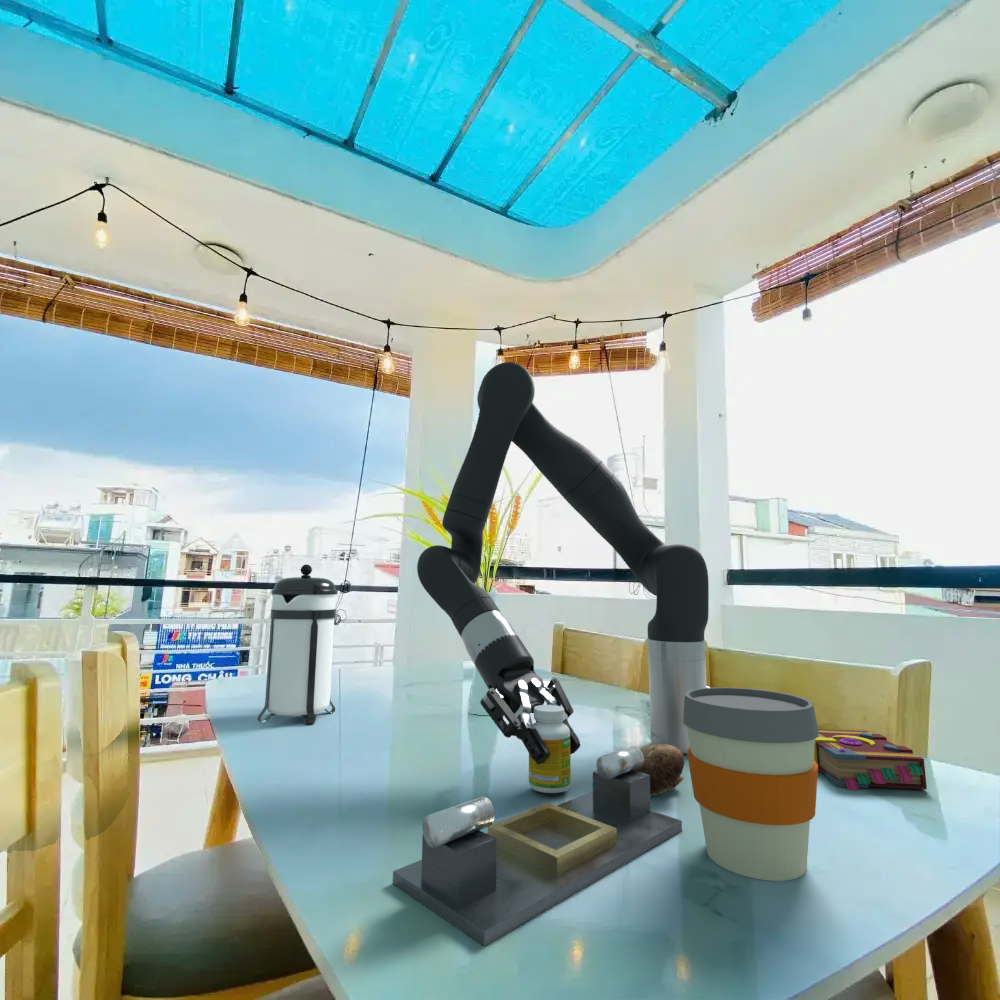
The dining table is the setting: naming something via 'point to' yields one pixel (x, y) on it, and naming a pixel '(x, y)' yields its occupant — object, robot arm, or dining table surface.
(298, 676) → the coffee press
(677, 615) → the robot arm
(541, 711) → the supplement bottle
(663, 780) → the brown rough round lump
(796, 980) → the dining table surface
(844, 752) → the decorative book
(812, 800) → the reusable coffee cup
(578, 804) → the shaft bench
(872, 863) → the dining table surface
